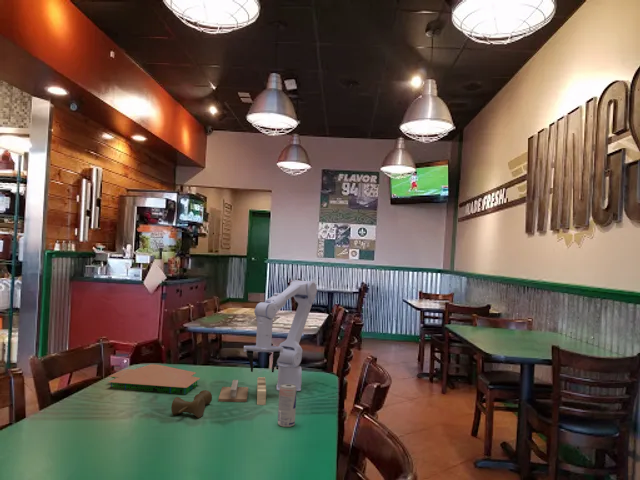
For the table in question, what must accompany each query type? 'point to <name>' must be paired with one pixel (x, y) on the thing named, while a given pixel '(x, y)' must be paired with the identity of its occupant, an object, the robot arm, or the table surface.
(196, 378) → the brown flat slab
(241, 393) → the ridge stand
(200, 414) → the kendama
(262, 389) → the maple bar
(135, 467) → the table surface
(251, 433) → the table surface
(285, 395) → the energy drink
